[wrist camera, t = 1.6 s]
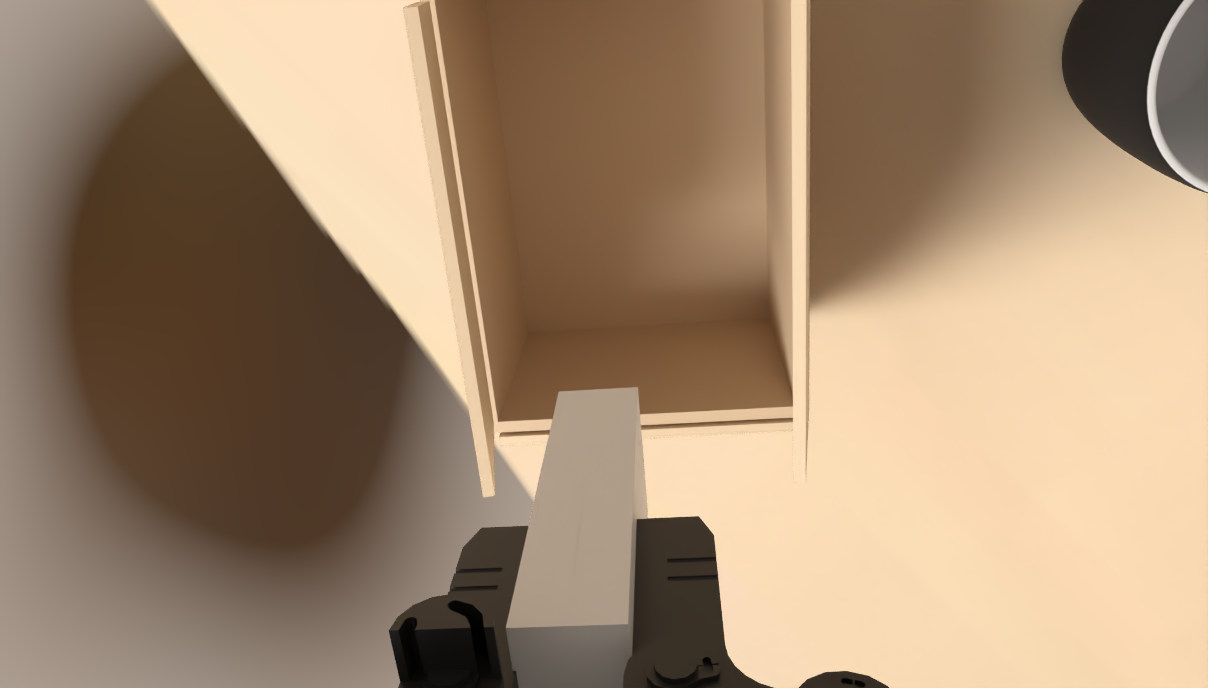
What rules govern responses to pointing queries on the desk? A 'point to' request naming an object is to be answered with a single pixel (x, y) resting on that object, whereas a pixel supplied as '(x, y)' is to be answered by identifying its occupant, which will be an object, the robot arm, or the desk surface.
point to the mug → (1144, 80)
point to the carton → (627, 205)
